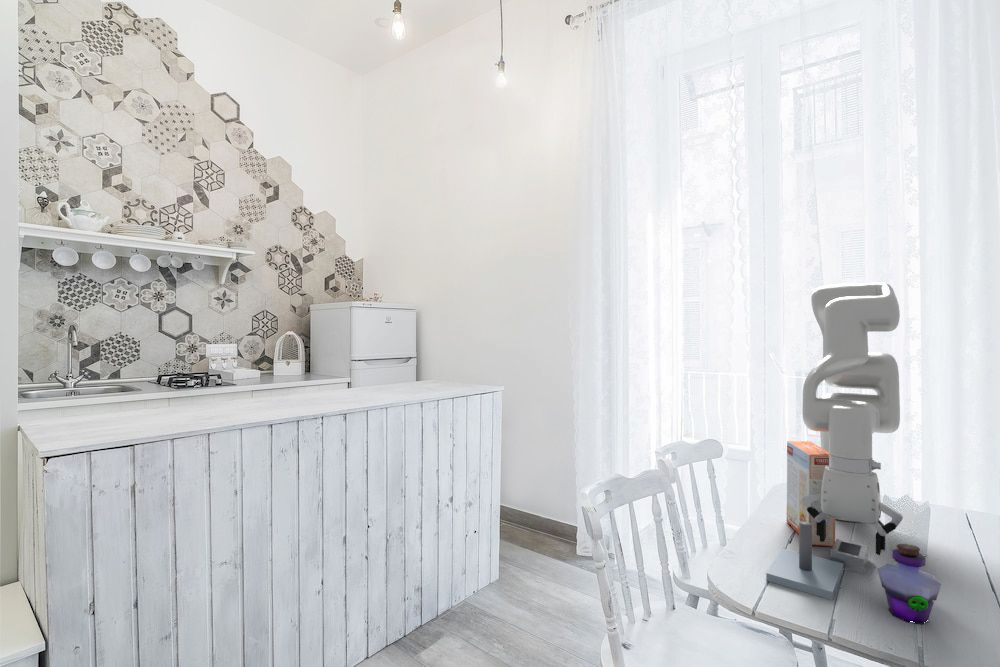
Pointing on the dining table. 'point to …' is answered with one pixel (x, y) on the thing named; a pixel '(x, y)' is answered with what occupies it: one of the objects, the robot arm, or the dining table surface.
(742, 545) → the dining table surface
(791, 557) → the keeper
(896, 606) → the potion bottle
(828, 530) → the cracker box
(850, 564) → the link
